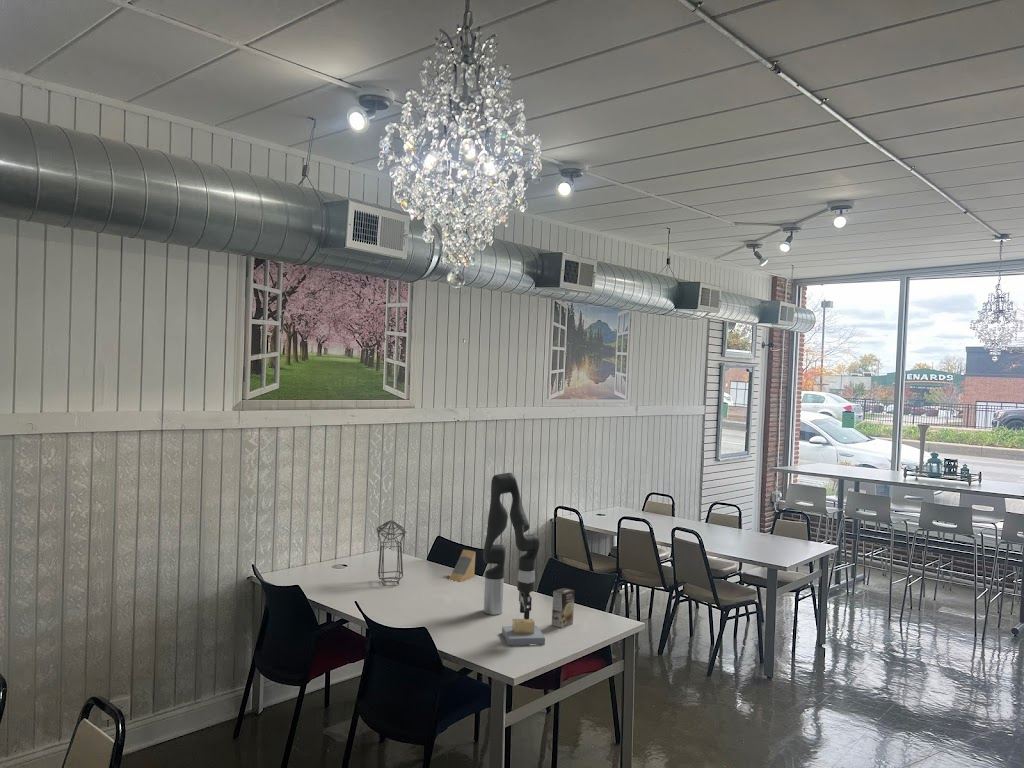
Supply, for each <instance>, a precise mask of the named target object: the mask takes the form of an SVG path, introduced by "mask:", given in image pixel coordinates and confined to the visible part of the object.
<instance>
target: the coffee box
mask: <svg viewBox="0 0 1024 768" xmlns="http://www.w3.org/2000/svg"><path fill="white" fill-rule="evenodd" d="M552 591H553V594H552V608H551V609H552V611H551V626H554V627H558V628H561V629H563V628H565V627H567V626H571V625H573V623H574V610H575V594H576V593H575V592H576V591H575V590H574V589H571V588H566V587H563V588H560V589H559V588H558V589H556V590H552Z"/></svg>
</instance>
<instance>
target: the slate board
mask: <svg viewBox="0 0 1024 768" xmlns="http://www.w3.org/2000/svg"><path fill="white" fill-rule="evenodd" d="M502 633H503V634H502ZM501 634H502V636H503V635H504V636H503V637H505V638H504V640H505V641H506V642H507V643H506V644H507V645H508V644H509V645H514V646H529V645H528V644H545V645H546V637H545V636H544V634H543V633H542V631H541V630H540V629H539V627H538V626H537V625H535V626H534V634H514V633H513V631H512V625H508V626H507V625H505V626H504V625H503V626H502V627H501ZM526 644H527V645H526ZM509 645H508V646H509Z"/></svg>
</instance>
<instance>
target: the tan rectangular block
mask: <svg viewBox="0 0 1024 768" xmlns="http://www.w3.org/2000/svg"><path fill="white" fill-rule="evenodd" d="M511 624H512V625H511V626H512V631H513V633H514V634H534V626H536V625H535V621H534V619H533V618H529V619H524V618H512V623H511Z"/></svg>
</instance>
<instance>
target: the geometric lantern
mask: <svg viewBox="0 0 1024 768" xmlns="http://www.w3.org/2000/svg"><path fill="white" fill-rule="evenodd" d="M387 527H388V528H387ZM404 528H405V527H404V526H403V525H401V524H399V523H397V522H395V520H393V519H391V520H388V521H386V522H384V523H383V524H381V525H379V526H378V527H376V528H375V529H376V534H377V537H378V539H379V540H378V541H379V545H380V546H379V556H378V557H379V558H378V570H377V575H378V579H379V580H380V581H381V582H382V581H383V582H382V583H384V584H383V586H386V583H395V582H396V583H397V584H399V585H400V580H401V579H403V578H404V569H403V567H404V566H403V565H404V564H403V550H402V549H403V547H402V546H403V540H404V538H405V536H406V533H407V531H406V530H405V529H404ZM395 529H396V530H395ZM386 530H387V531H386ZM391 530H392V532H390V531H391ZM398 531H400V532H398ZM397 532H398V533H397ZM380 535H381V536H382V537H384V540H383V541H382V539H381V536H380ZM385 535H386V536H385ZM390 536H393V538H390ZM400 536H401V538H400V541H399V540H398V537H400ZM386 539H387V541H386ZM390 540H394V542H395V543H396V546H395V545H394V546H390V545H389V546H388V548H397V560H396V561H397V563H396V564H397V565H396V570H393V571H391V570H390V571H385V562H384V561H385V559H384V558H385V547H386V545H387V543H389V542H390ZM387 573H395V576H389V577H387V576H386V577H385V576H384V575H385V574H387ZM392 580H397V581H392Z"/></svg>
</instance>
